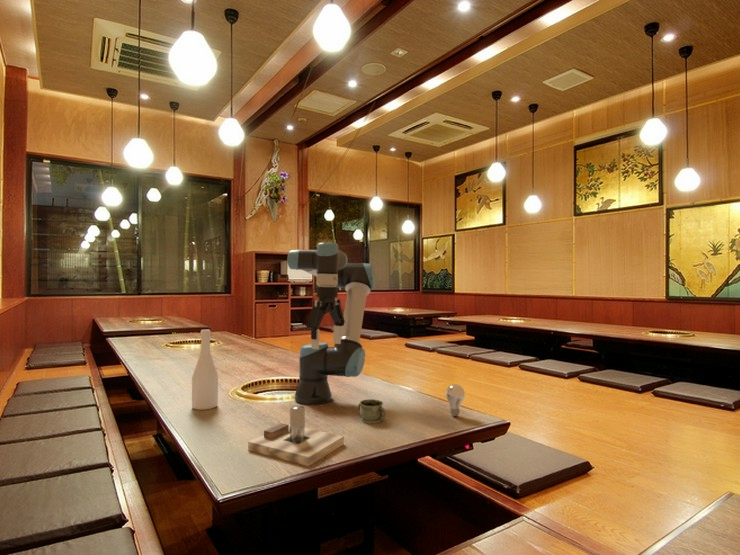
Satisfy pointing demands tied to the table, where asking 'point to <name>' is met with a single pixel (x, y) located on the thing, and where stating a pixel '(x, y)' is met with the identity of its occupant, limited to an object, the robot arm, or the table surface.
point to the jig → (304, 453)
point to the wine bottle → (205, 377)
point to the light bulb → (455, 398)
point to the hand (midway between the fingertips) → (326, 346)
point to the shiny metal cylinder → (297, 424)
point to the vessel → (371, 411)
